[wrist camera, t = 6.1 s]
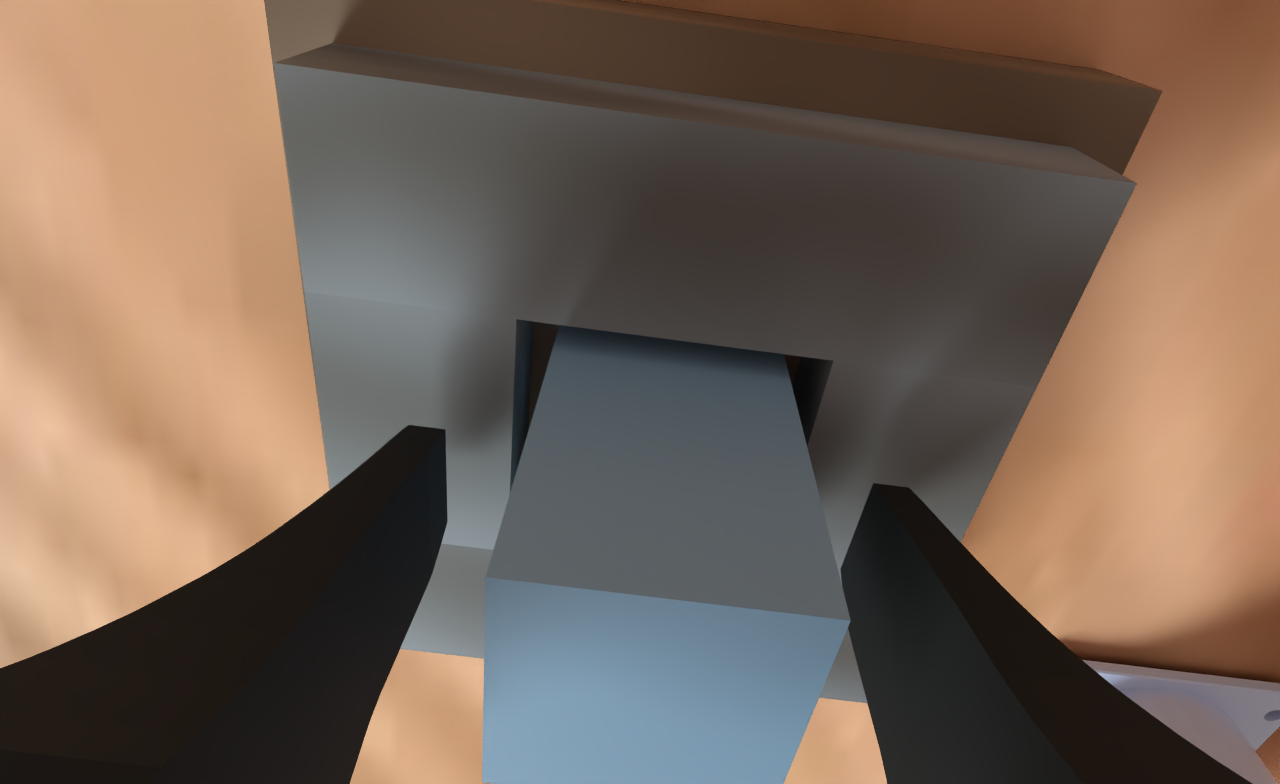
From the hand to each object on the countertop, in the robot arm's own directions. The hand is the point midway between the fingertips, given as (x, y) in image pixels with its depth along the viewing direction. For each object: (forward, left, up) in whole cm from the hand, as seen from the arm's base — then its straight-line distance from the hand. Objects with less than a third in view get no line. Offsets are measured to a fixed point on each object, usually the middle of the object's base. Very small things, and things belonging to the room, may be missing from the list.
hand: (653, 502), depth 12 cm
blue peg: (0, 0, -3) cm, 3 cm away
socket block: (0, 0, -5) cm, 5 cm away
